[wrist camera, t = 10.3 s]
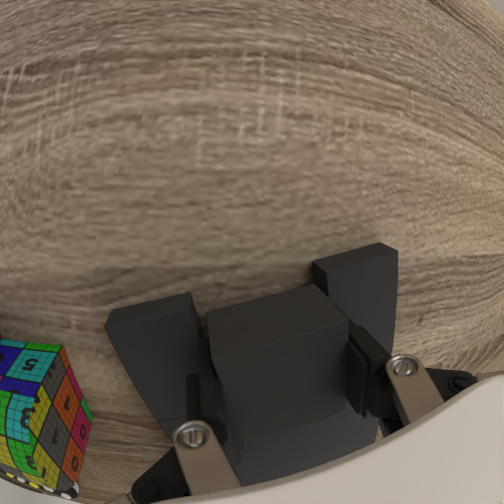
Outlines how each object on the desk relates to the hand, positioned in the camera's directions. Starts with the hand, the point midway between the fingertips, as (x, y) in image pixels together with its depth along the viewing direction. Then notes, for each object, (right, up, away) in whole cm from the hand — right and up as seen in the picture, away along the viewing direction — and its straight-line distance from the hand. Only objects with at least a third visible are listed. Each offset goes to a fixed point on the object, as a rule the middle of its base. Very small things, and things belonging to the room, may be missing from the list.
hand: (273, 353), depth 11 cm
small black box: (0, 0, +1) cm, 1 cm away
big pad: (+1, -7, +4) cm, 8 cm away
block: (-16, -2, 0) cm, 16 cm away
